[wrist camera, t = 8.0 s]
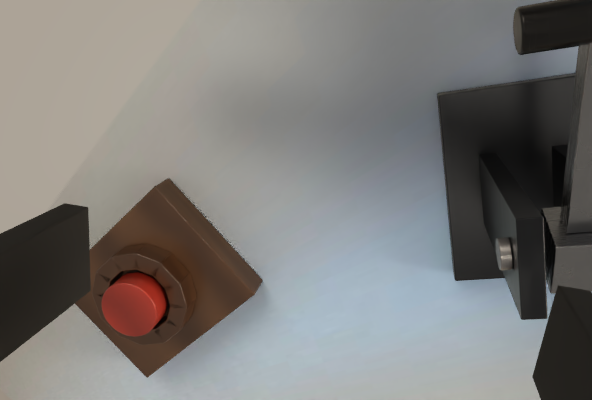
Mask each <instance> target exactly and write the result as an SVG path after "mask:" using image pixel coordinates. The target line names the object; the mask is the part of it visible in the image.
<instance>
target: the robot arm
mask: <svg viewBox="0 0 592 400" xmlns="http://www.w3.org/2000/svg"><path fill="white" fill-rule="evenodd" d="M90 291H91V280H90V250H89V221H88V207H83V206H77V205H71V204H62V205H60V206H58V207H56V208H54V209H52V210H50V211H48V212H46V213H43V214H41V215H39V216H37V217H35V218H33V219H31V220H29V221H27V222H24V223H22V224H20V225H18V226H16V227H14V228H12V229H10V230H8V231H5V232H3V233H1V234H0V362H1V361H2V360H3V359H4V358H6V357H7V356H8V355H10V354H11V353H12V352H13V351H15V350H16V349H17V348H18V347H20V346H21V345H22V344H24V343H25V342H26V341H27V340H29V339H30V338H31V337H32V336H34V335H35V334H36V333H38V332H39V331H40V330H41V329H43V328H44V327H45V326H46V325H48V324H49V323H50V322H52V321H53V320H54V319H55V318H57V317H58V316H59V315H60V314H62V313H63V312H64V311H66V310H67V309H68V308H69V307H71V306H72V305H73V304H74V303H76V302H77V301H78V300H80V299H81V298H82V297H83V296H85V295H86V294H87V293H88V292H90ZM533 379H534V382H535V385H536V387H537V390H538V393H539V395H540V398H541V400H592V293H591V291H589V290H583V289H577V288H571V287H565V286H559V285H558V287H557V290H556V294H555V297H554V301H553V305H552V308H551V312H550V315H549V319H548V323H547V326H546V330H545V333H544V337H543V341H542V344H541V348H540V352H539V355H538V359H537V362H536V366H535V370H534V373H533Z"/></svg>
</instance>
